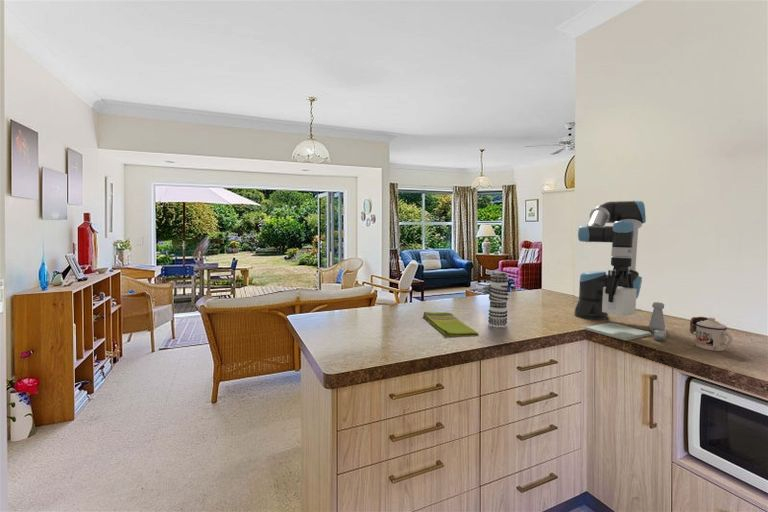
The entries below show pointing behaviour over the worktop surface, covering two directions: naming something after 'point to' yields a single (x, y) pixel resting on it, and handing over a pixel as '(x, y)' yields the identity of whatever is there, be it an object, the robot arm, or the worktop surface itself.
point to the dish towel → (448, 324)
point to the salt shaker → (657, 317)
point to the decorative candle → (498, 299)
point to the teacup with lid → (712, 335)
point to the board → (618, 331)
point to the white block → (621, 301)
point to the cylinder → (660, 335)
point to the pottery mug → (694, 322)
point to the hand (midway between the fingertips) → (618, 308)
